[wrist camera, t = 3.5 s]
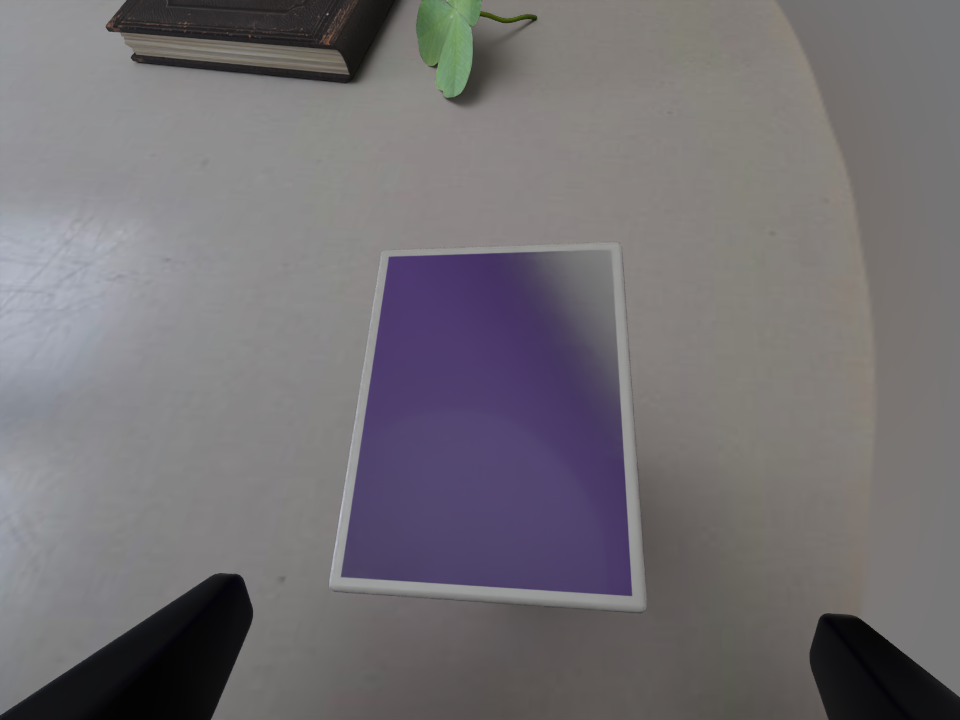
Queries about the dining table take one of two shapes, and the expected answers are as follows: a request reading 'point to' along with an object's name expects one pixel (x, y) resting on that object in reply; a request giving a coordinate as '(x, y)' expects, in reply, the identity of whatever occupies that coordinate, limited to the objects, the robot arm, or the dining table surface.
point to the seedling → (451, 39)
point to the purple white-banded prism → (496, 432)
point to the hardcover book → (253, 34)
